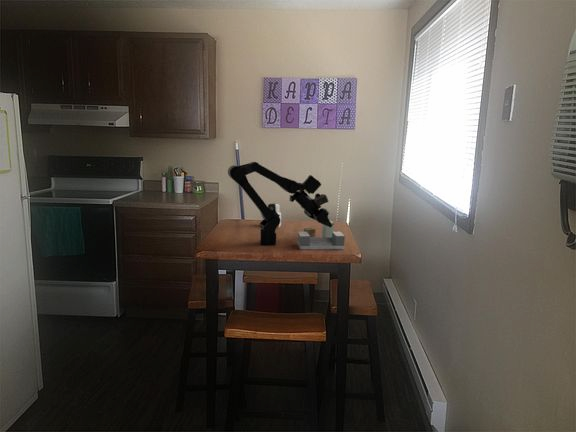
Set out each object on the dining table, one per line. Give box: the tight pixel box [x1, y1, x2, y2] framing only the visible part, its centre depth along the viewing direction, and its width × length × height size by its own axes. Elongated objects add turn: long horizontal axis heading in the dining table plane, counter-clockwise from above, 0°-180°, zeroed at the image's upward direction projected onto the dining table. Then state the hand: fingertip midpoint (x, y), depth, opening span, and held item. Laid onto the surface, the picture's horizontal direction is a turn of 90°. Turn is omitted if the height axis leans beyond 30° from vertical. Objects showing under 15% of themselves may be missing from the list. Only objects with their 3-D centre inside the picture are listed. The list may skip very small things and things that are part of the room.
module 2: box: [332, 231, 346, 246], centre depth 192 cm, size 4×8×4 cm, turn 7°
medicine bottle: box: [267, 203, 282, 229], centre depth 232 cm, size 7×7×12 cm
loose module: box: [321, 220, 335, 237], centre depth 202 cm, size 4×5×9 cm
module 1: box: [297, 231, 310, 246], centre depth 190 cm, size 4×8×4 cm, turn 7°
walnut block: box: [303, 227, 316, 237], centre depth 210 cm, size 4×4×4 cm
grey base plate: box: [296, 236, 345, 250], centre depth 192 cm, size 19×10×3 cm, turn 97°
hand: (327, 224), depth 201 cm, fingers open, 9 cm apart
